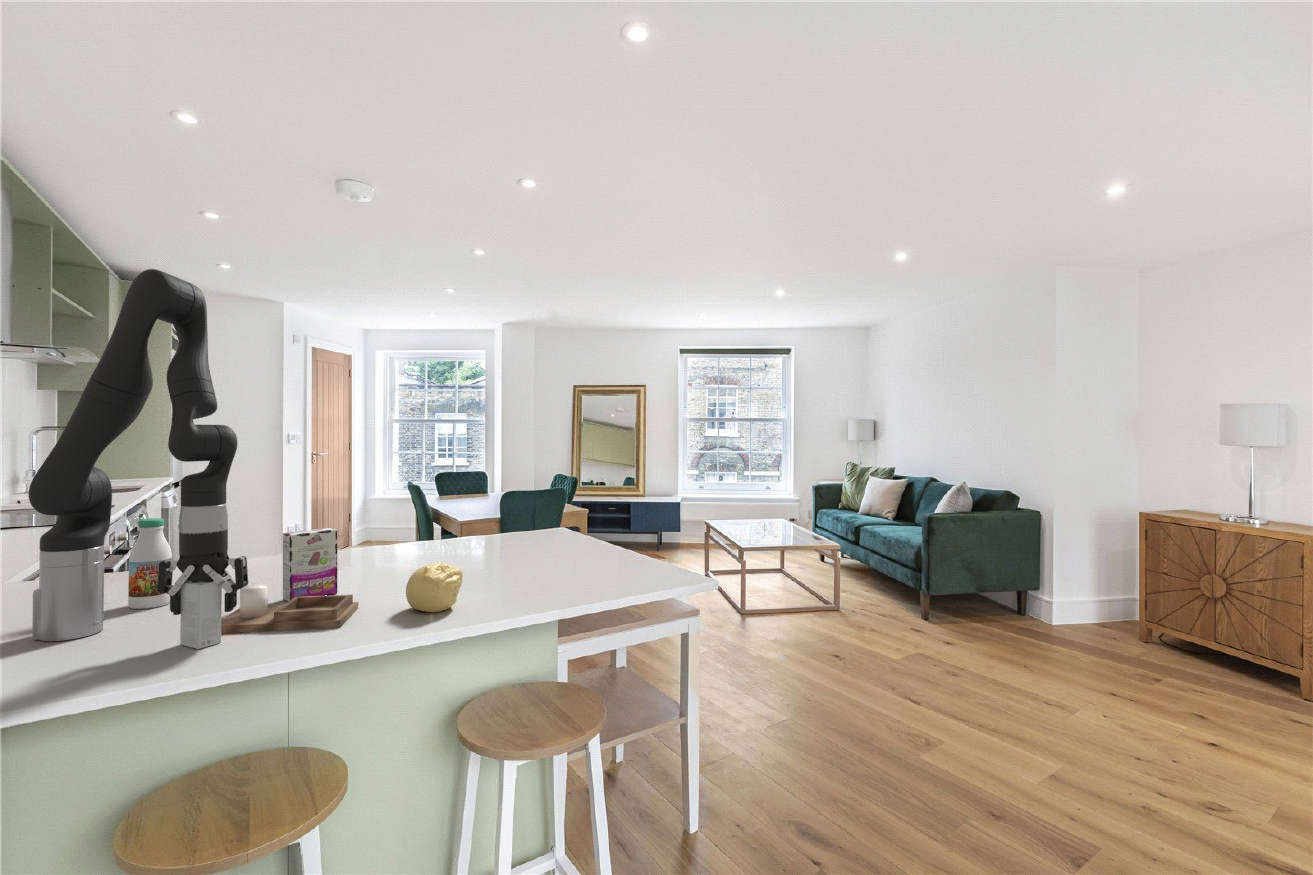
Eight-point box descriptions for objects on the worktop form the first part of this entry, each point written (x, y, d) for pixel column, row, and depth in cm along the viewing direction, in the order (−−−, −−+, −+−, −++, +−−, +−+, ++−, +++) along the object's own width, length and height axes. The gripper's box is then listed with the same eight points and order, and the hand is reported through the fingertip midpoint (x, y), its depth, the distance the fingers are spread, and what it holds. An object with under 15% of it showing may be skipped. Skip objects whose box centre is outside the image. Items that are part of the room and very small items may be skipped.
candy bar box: (328, 590, 154) (329, 527, 154) (338, 594, 151) (338, 529, 151) (280, 599, 145) (281, 532, 145) (289, 603, 142) (290, 534, 142)
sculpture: (443, 618, 134) (444, 569, 134) (395, 614, 136) (396, 566, 136) (469, 604, 145) (470, 559, 145) (424, 600, 147) (425, 556, 147)
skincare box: (222, 643, 116) (223, 581, 116) (197, 650, 112) (198, 586, 112) (203, 638, 118) (204, 577, 118) (178, 644, 115) (179, 582, 114)
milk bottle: (121, 606, 138) (122, 519, 138) (161, 598, 144) (162, 515, 144) (137, 611, 134) (139, 522, 134) (178, 603, 141) (179, 518, 141)
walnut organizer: (210, 633, 121) (211, 596, 121) (242, 613, 134) (242, 579, 134) (340, 627, 126) (341, 591, 126) (358, 608, 140) (358, 576, 140)
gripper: (253, 524, 121) (253, 604, 121) (171, 526, 117) (171, 609, 118) (237, 530, 113) (236, 616, 113) (149, 532, 110) (149, 621, 110)
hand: (203, 612), depth 115 cm, fingers open, 8 cm apart
